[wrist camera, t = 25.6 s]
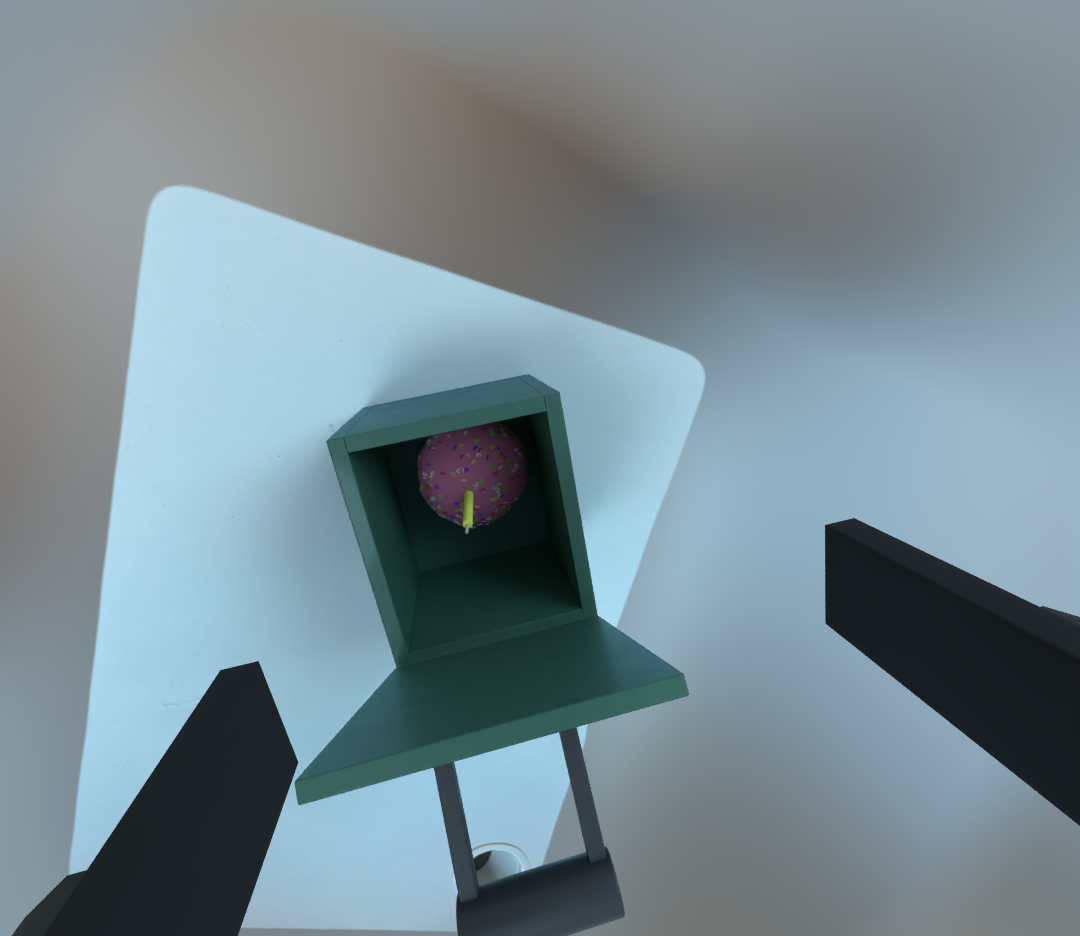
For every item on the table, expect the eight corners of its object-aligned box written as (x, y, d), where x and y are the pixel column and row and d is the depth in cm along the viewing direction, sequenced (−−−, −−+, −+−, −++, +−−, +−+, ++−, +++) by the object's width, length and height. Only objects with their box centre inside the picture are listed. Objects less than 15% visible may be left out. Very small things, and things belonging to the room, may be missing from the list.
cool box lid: (293, 781, 17) (338, 1064, 16) (684, 673, 19) (750, 925, 18) (395, 668, 34) (420, 803, 33) (598, 615, 35) (629, 743, 34)
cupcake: (501, 516, 45) (518, 579, 34) (406, 489, 43) (390, 547, 32) (534, 425, 44) (563, 459, 32) (437, 393, 42) (431, 417, 30)
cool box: (362, 407, 42) (325, 440, 30) (529, 374, 43) (559, 391, 31) (411, 579, 47) (397, 670, 34) (560, 543, 48) (598, 617, 36)
